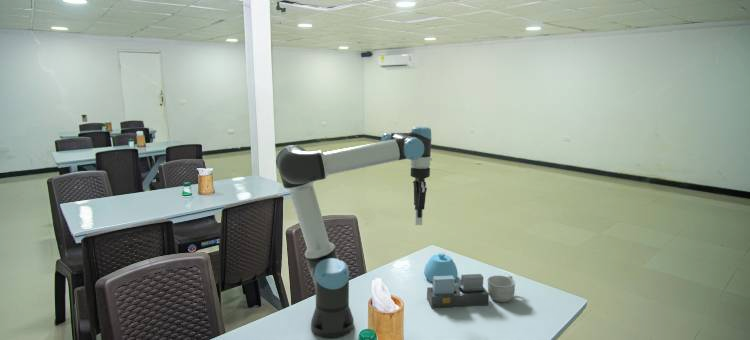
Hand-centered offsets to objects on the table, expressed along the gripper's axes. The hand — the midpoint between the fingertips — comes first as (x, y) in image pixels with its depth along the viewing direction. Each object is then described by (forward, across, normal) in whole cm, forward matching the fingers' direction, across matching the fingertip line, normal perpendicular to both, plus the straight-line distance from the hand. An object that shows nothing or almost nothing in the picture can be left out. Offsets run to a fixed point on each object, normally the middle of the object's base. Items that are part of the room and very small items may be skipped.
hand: (418, 224), depth 164 cm
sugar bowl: (+31, +14, -14) cm, 37 cm away
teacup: (+31, -6, -35) cm, 47 cm away
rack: (+30, -8, -15) cm, 35 cm away
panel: (+29, -8, -9) cm, 32 cm away
